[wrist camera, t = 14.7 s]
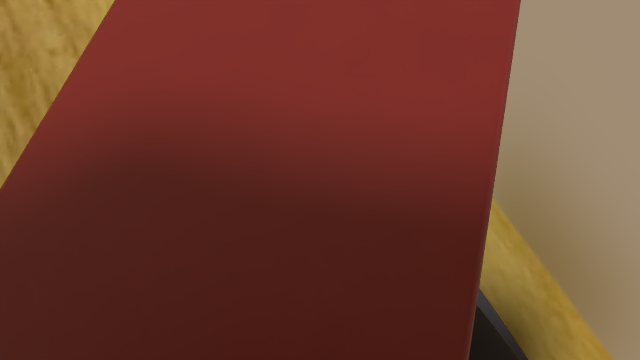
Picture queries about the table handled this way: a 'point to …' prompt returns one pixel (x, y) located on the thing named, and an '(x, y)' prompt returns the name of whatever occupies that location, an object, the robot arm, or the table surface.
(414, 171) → the small book
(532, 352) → the table surface
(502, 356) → the robot arm
